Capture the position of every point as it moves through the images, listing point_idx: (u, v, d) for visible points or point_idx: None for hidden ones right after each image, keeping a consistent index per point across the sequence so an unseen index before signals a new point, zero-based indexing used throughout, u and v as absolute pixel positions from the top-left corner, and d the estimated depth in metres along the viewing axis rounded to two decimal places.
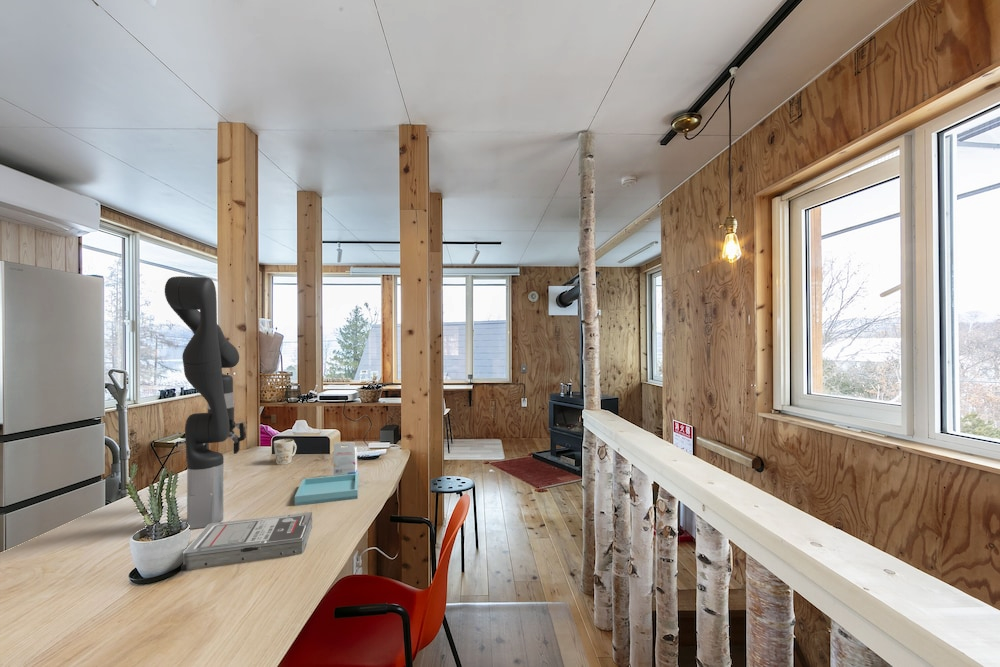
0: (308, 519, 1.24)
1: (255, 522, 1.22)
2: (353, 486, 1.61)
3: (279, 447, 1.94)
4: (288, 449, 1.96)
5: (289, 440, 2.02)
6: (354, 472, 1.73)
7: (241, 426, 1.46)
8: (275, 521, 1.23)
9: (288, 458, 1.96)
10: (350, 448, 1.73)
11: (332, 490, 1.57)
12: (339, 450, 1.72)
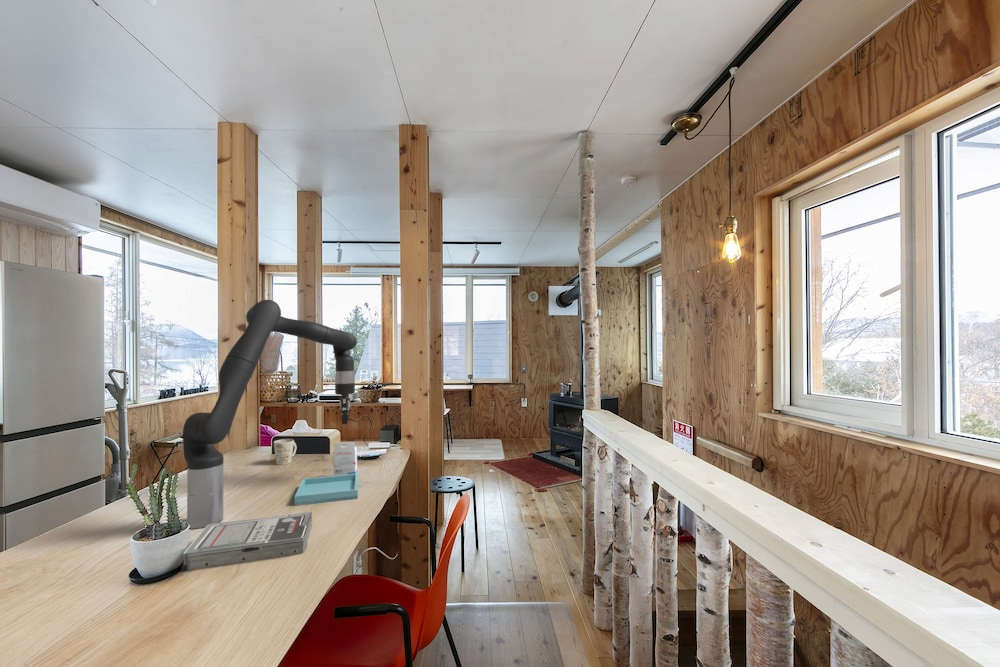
0: (308, 519, 1.24)
1: (255, 522, 1.22)
2: (353, 486, 1.61)
3: (279, 447, 1.94)
4: (288, 449, 1.96)
5: (289, 440, 2.02)
6: (354, 472, 1.73)
7: (348, 397, 1.81)
8: (275, 521, 1.23)
9: (288, 458, 1.96)
10: (350, 448, 1.73)
11: (332, 490, 1.57)
12: (339, 450, 1.72)
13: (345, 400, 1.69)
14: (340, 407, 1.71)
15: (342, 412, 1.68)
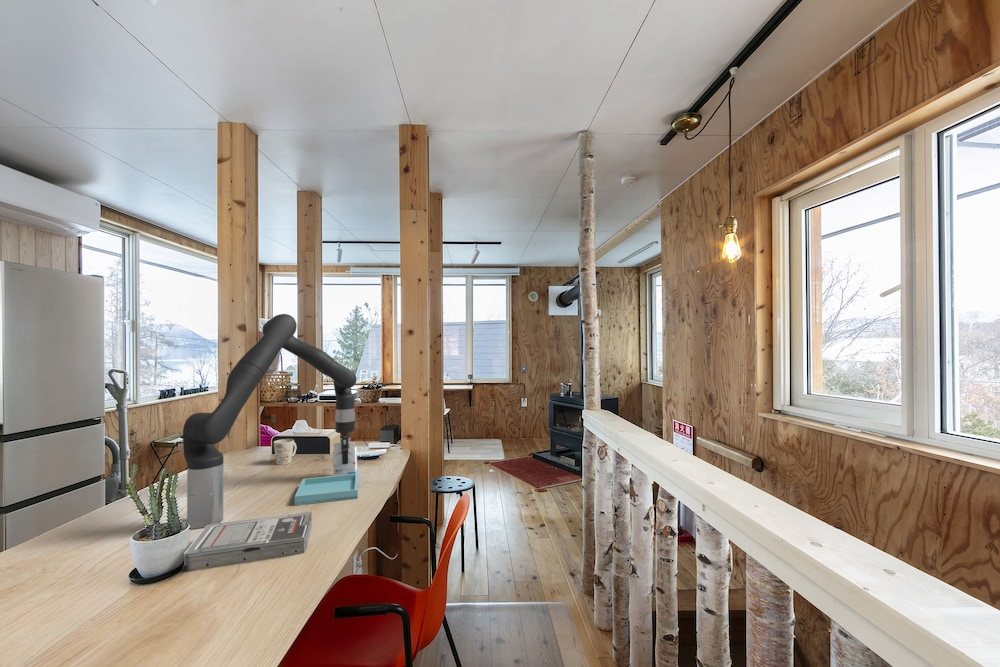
0: (308, 519, 1.24)
1: (255, 522, 1.22)
2: (353, 486, 1.61)
3: (279, 447, 1.94)
4: (288, 449, 1.96)
5: (289, 440, 2.02)
6: (354, 472, 1.73)
7: None
8: (275, 521, 1.23)
9: (288, 458, 1.96)
10: (350, 448, 1.73)
11: (332, 490, 1.57)
12: (339, 450, 1.72)
13: (345, 442, 1.69)
14: None
15: (342, 452, 1.69)
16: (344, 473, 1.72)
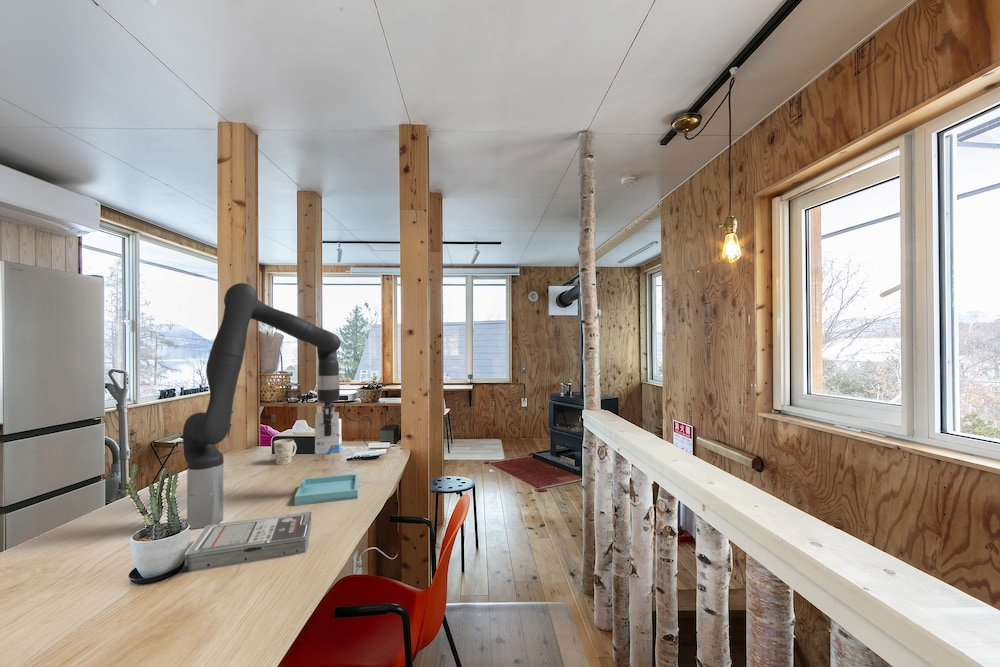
0: (308, 518, 1.24)
1: (254, 522, 1.22)
2: (353, 486, 1.61)
3: (279, 447, 1.94)
4: (288, 449, 1.96)
5: (289, 440, 2.02)
6: (338, 445, 1.56)
7: None
8: (275, 521, 1.23)
9: (288, 458, 1.96)
10: (333, 419, 1.56)
11: (332, 490, 1.57)
12: (321, 421, 1.56)
13: (328, 411, 1.52)
14: None
15: (325, 423, 1.53)
16: (327, 446, 1.56)
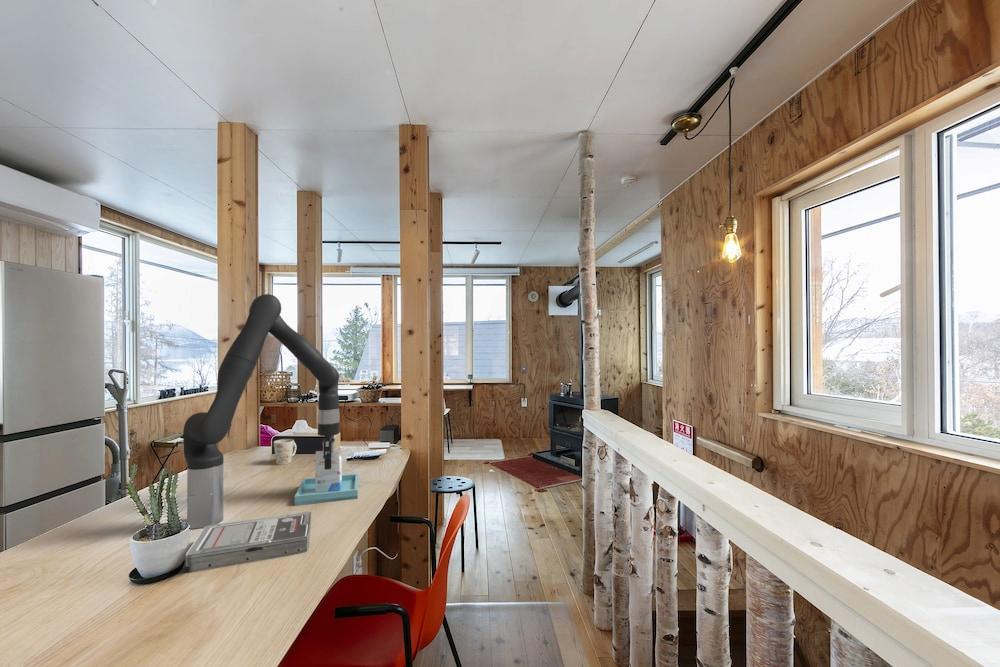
0: (308, 518, 1.24)
1: (254, 523, 1.22)
2: (353, 486, 1.61)
3: (279, 447, 1.94)
4: (288, 449, 1.96)
5: (289, 440, 2.02)
6: (338, 483, 1.56)
7: (333, 436, 1.64)
8: (275, 521, 1.23)
9: (288, 458, 1.96)
10: (334, 456, 1.56)
11: None
12: (322, 459, 1.55)
13: (328, 443, 1.52)
14: (323, 450, 1.54)
15: (325, 457, 1.51)
16: (327, 484, 1.56)
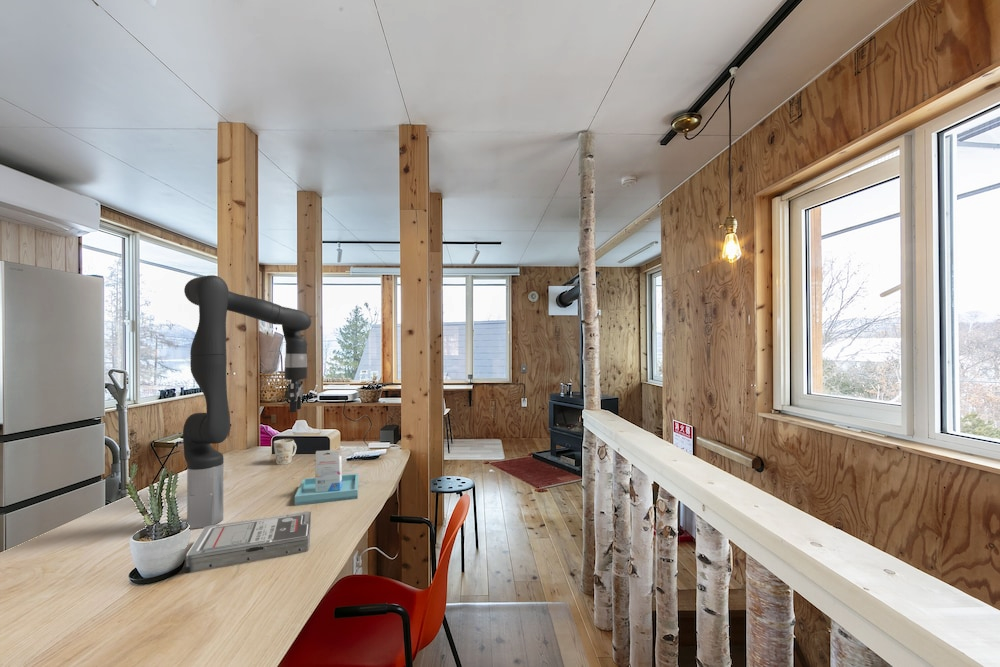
0: (308, 518, 1.25)
1: (254, 523, 1.22)
2: (353, 486, 1.61)
3: (279, 447, 1.94)
4: (288, 449, 1.96)
5: (289, 440, 2.02)
6: (338, 483, 1.56)
7: (302, 384, 1.65)
8: (275, 521, 1.23)
9: (288, 458, 1.96)
10: (334, 456, 1.56)
11: None
12: (322, 459, 1.55)
13: (293, 385, 1.52)
14: None
15: (289, 398, 1.51)
16: (327, 484, 1.56)
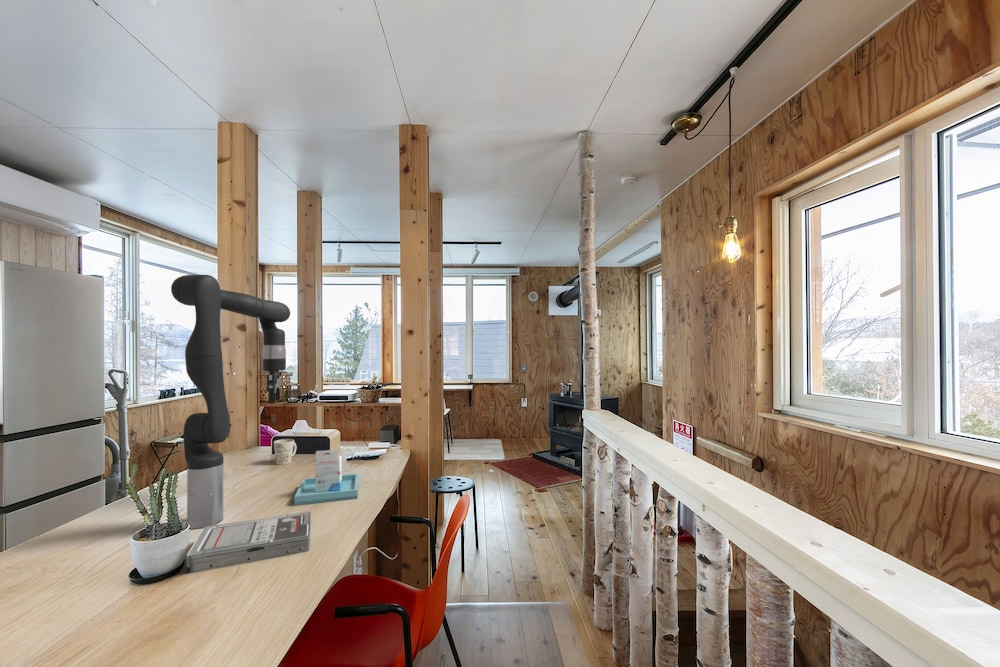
0: (308, 518, 1.25)
1: (254, 523, 1.22)
2: (353, 486, 1.61)
3: (279, 447, 1.94)
4: (288, 449, 1.96)
5: (289, 440, 2.02)
6: (338, 483, 1.56)
7: (281, 375, 1.65)
8: (274, 521, 1.23)
9: (288, 458, 1.96)
10: (334, 456, 1.56)
11: None
12: (322, 459, 1.55)
13: (271, 376, 1.52)
14: None
15: (268, 390, 1.52)
16: (327, 484, 1.56)
